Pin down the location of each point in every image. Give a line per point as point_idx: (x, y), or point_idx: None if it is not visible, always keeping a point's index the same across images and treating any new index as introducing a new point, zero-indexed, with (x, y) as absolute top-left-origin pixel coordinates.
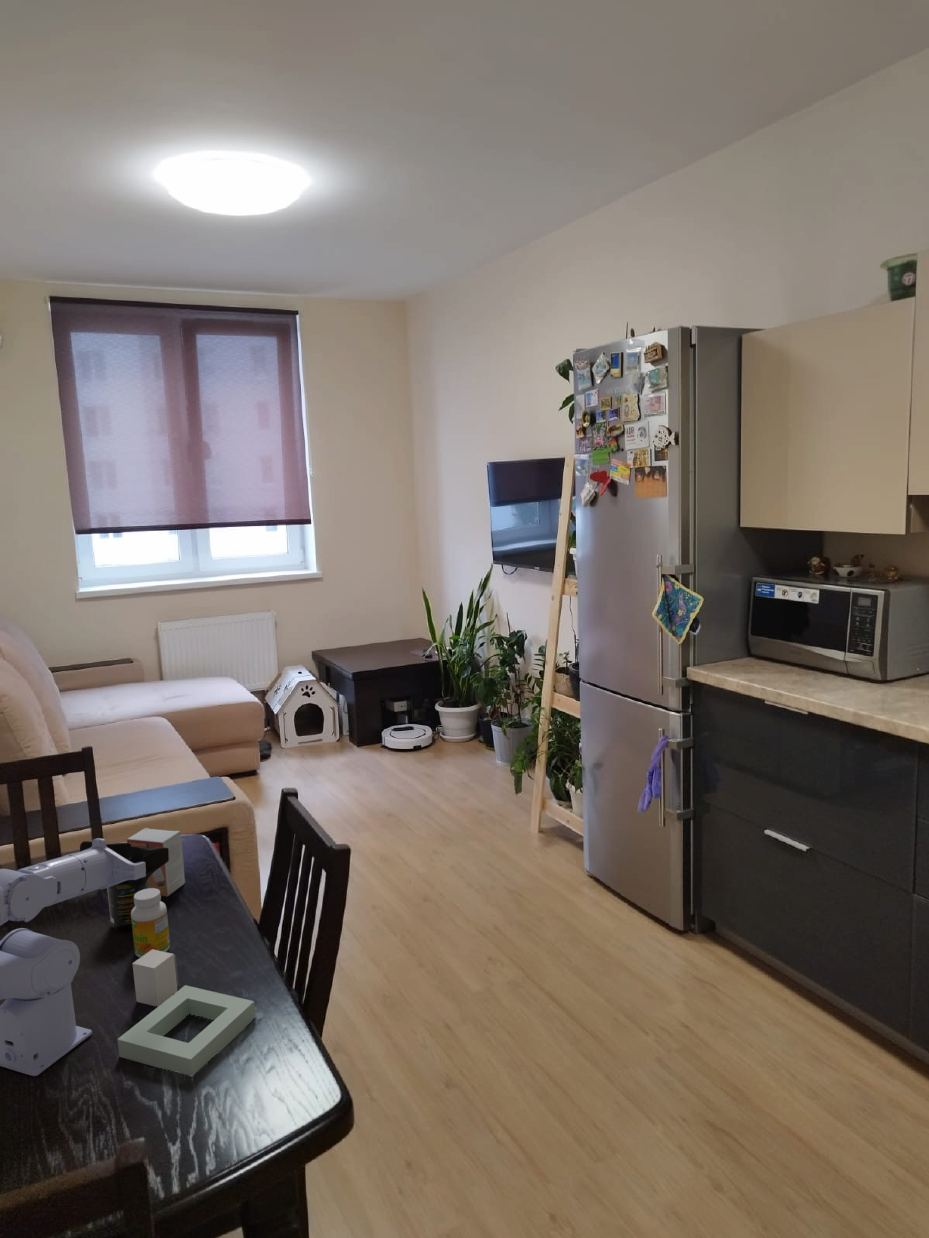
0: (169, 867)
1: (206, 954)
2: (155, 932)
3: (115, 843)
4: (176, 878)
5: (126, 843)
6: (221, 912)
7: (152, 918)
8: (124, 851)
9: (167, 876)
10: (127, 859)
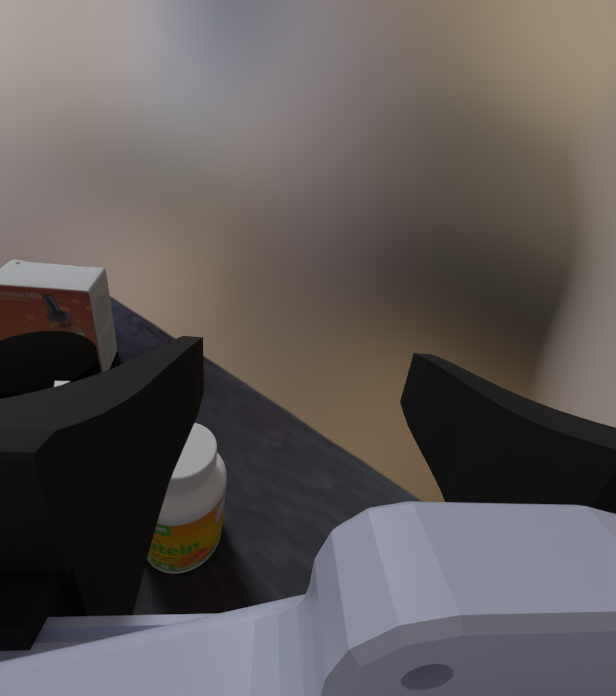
0: (101, 334)
1: (305, 510)
2: (216, 522)
3: (148, 353)
4: (109, 348)
5: (195, 342)
6: (234, 401)
7: (215, 504)
8: (193, 382)
9: (101, 350)
10: (25, 338)
